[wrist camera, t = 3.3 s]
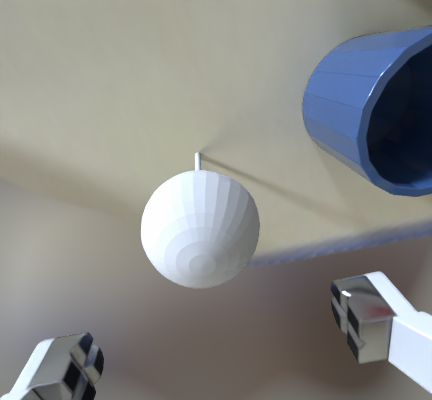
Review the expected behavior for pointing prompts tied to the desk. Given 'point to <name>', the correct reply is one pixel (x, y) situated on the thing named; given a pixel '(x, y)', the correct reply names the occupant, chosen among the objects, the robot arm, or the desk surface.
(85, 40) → the desk surface
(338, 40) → the desk surface
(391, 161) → the cup
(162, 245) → the lollipop
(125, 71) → the desk surface
